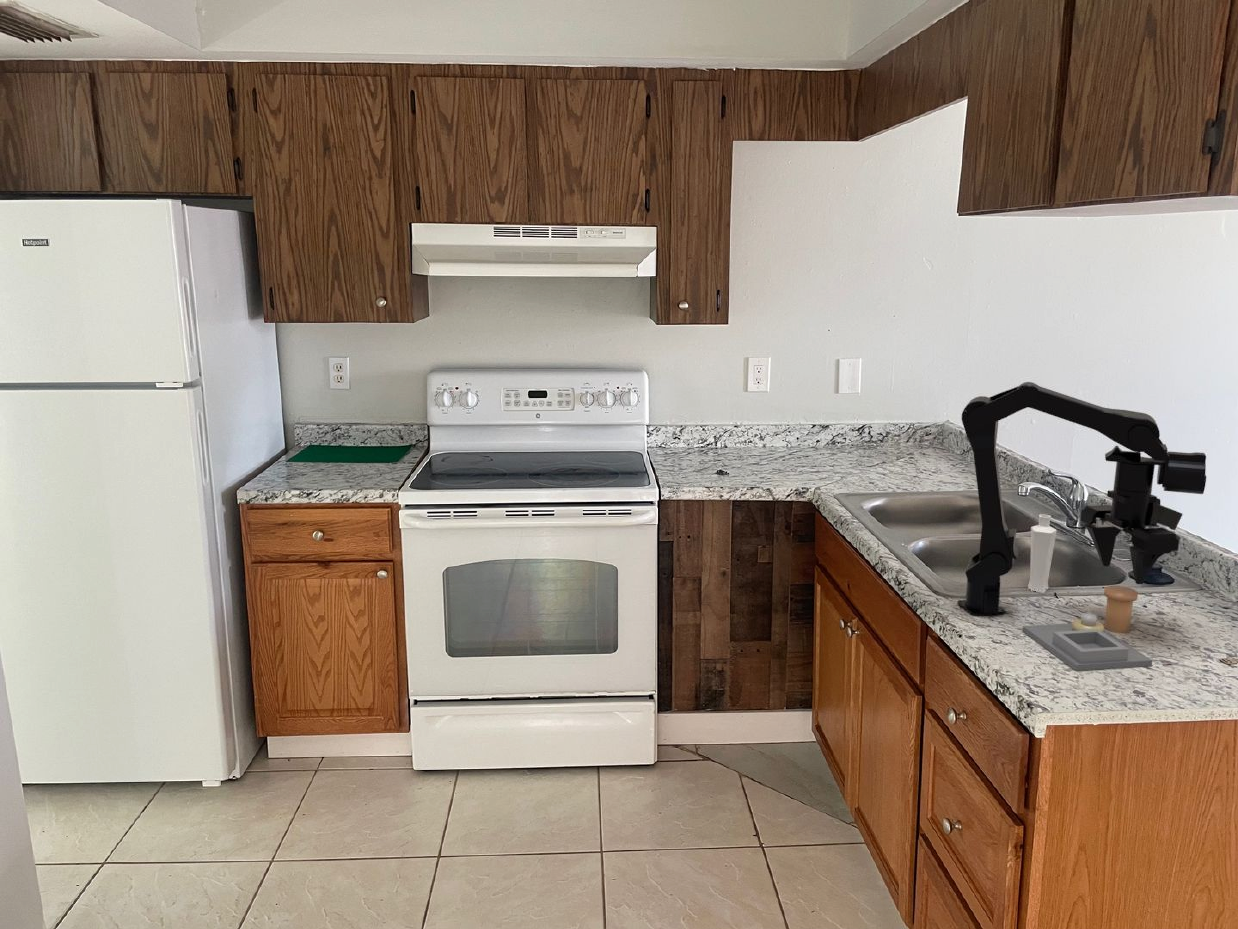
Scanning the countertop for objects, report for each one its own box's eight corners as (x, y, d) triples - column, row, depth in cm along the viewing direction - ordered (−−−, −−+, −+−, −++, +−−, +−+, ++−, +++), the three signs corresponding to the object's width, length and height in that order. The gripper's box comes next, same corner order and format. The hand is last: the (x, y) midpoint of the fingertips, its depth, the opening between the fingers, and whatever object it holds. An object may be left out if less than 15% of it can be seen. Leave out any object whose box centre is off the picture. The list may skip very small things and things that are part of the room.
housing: (1022, 631, 167) (1024, 610, 166) (1092, 627, 169) (1094, 606, 168) (1075, 671, 152) (1078, 647, 151) (1151, 666, 153) (1154, 642, 152)
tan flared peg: (1094, 623, 170) (1098, 586, 169) (1121, 622, 171) (1125, 585, 170) (1112, 635, 165) (1116, 597, 164) (1140, 633, 166) (1144, 595, 164)
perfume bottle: (1053, 594, 185) (1061, 519, 181) (1029, 593, 185) (1036, 518, 182) (1047, 586, 189) (1054, 513, 186) (1024, 584, 190) (1030, 512, 186)
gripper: (1215, 500, 154) (1203, 591, 158) (1141, 473, 172) (1131, 555, 176) (1151, 503, 153) (1140, 594, 157) (1083, 475, 171) (1074, 558, 175)
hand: (1122, 574), depth 166 cm, fingers open, 9 cm apart
